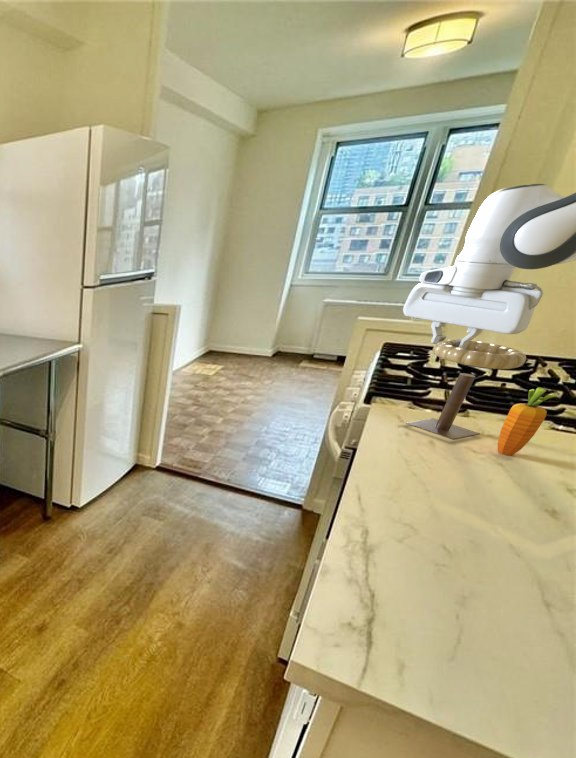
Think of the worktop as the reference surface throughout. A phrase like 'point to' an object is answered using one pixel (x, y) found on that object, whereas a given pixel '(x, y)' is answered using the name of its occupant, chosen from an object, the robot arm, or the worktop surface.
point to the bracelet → (480, 355)
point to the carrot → (522, 423)
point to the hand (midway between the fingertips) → (447, 346)
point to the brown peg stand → (450, 412)
